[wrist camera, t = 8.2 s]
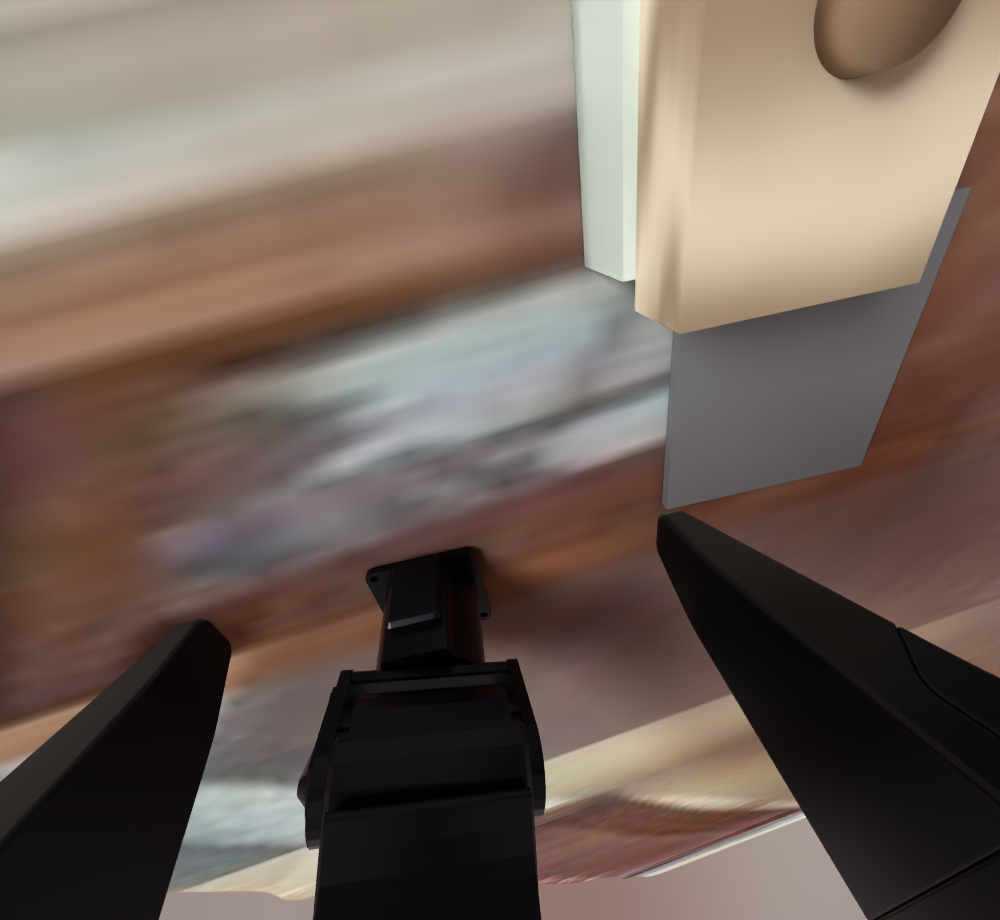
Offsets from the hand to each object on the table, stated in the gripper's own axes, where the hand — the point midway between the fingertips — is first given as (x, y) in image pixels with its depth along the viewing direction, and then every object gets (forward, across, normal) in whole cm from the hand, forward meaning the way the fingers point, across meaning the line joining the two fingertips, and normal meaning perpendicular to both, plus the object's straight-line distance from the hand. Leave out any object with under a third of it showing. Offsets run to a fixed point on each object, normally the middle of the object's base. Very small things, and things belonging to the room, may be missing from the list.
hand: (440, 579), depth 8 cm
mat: (+12, -17, +4) cm, 21 cm away
